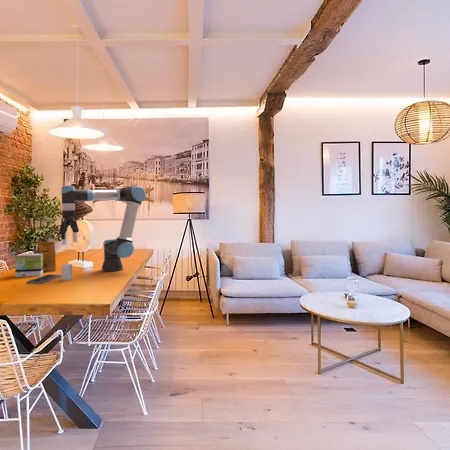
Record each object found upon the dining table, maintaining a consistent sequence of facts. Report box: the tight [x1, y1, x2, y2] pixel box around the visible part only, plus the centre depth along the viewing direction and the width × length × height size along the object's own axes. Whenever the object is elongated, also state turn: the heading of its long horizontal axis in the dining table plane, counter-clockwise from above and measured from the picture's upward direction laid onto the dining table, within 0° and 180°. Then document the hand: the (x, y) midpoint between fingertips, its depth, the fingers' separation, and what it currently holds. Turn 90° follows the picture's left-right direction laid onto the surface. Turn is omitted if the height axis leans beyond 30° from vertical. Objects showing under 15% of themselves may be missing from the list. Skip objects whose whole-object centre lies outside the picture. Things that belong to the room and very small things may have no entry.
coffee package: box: [36, 240, 57, 273], centre depth 235 cm, size 10×12×22 cm
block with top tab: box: [59, 263, 74, 282], centre depth 202 cm, size 4×7×10 cm, turn 89°
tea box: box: [14, 253, 44, 278], centre depth 217 cm, size 15×10×15 cm
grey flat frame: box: [26, 274, 62, 285], centre depth 203 cm, size 22×10×2 cm, turn 179°
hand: (69, 243), depth 203 cm, fingers open, 13 cm apart
